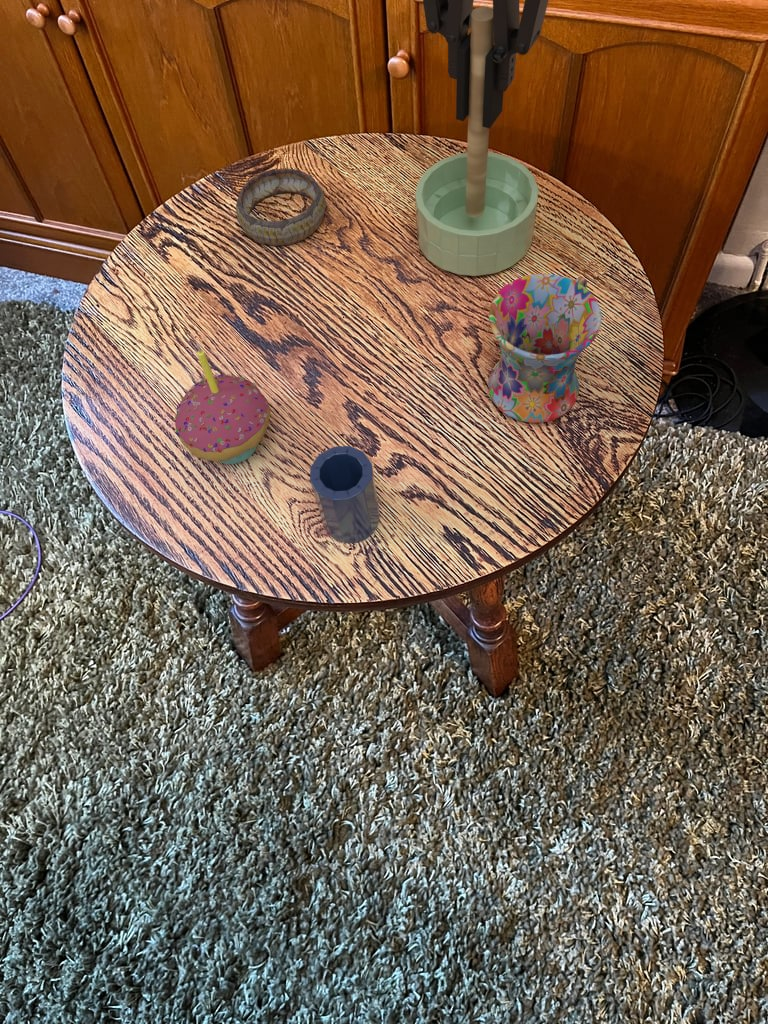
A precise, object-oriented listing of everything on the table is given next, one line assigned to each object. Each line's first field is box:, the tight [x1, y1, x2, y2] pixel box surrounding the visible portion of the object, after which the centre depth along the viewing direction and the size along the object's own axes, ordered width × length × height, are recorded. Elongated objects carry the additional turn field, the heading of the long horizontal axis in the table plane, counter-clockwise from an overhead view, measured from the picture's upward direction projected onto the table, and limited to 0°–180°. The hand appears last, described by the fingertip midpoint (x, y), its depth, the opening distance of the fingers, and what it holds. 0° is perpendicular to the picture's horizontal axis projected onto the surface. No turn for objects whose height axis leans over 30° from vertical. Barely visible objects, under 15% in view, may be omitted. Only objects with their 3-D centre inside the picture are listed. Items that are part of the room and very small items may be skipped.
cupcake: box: [174, 342, 272, 465], centre depth 68 cm, size 9×8×12 cm
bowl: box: [414, 151, 540, 277], centre depth 81 cm, size 12×12×6 cm
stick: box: [465, 6, 494, 218], centre depth 72 cm, size 2×2×20 cm
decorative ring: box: [235, 167, 327, 247], centre depth 86 cm, size 10×3×10 cm
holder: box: [309, 445, 381, 544], centre depth 65 cm, size 5×5×8 cm
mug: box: [487, 273, 602, 424], centre depth 69 cm, size 12×9×11 cm
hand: (479, 114), depth 71 cm, fingers closed on stick, 2 cm apart
